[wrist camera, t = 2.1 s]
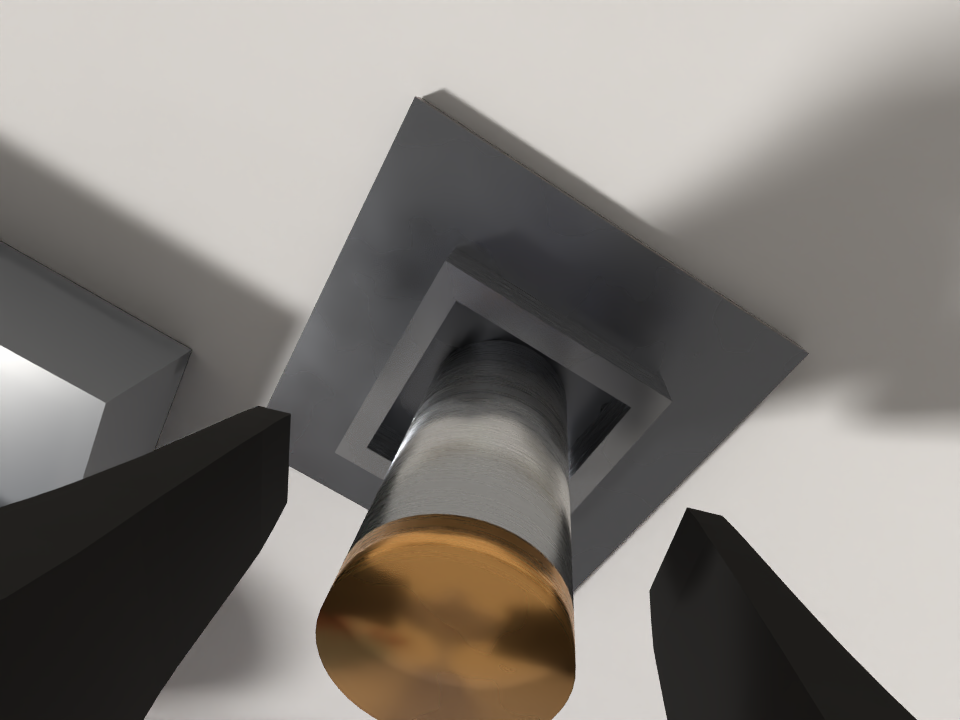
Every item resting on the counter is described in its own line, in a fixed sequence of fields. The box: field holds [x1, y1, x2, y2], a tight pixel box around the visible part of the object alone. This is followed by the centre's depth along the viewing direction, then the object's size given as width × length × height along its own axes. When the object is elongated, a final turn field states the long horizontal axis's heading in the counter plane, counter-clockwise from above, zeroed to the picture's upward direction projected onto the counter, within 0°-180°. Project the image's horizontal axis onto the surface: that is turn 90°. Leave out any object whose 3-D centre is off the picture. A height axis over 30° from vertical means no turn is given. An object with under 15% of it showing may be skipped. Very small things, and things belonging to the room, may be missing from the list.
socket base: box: [267, 96, 809, 591], centre depth 13 cm, size 10×10×2 cm
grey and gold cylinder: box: [316, 340, 576, 720], centre depth 10 cm, size 3×3×7 cm
